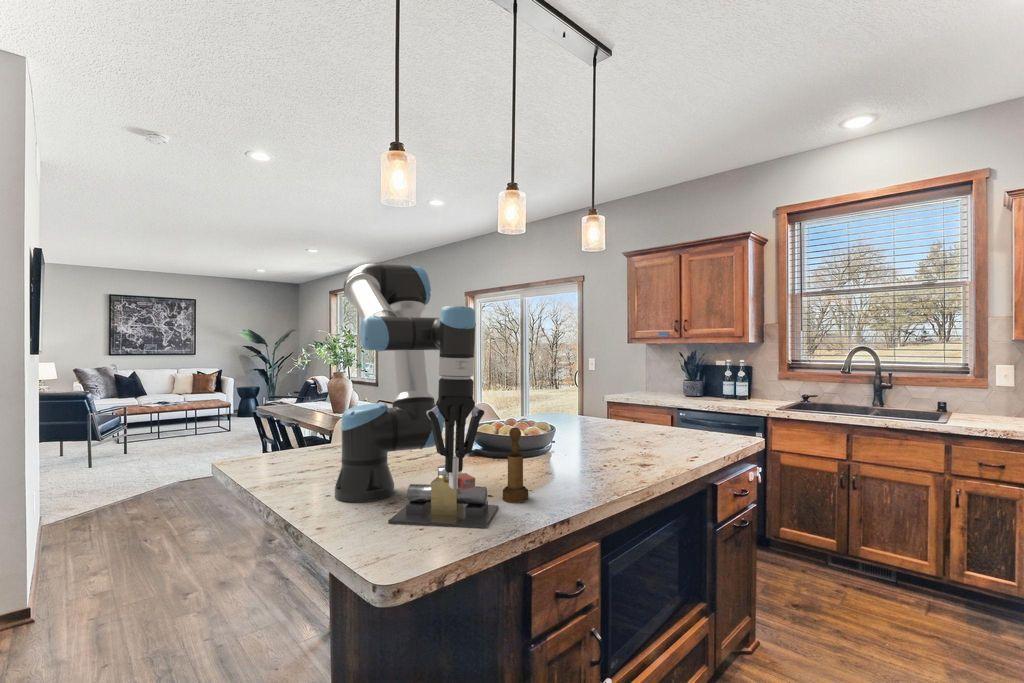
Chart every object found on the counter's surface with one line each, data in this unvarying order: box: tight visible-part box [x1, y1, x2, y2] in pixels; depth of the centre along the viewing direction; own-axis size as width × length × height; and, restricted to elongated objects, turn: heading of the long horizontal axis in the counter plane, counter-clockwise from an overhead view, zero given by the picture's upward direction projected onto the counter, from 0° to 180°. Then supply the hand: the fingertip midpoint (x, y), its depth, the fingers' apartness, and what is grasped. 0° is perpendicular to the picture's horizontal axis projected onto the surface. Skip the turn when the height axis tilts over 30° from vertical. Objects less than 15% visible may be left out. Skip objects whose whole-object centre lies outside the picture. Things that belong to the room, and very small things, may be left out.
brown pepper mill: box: [502, 427, 529, 504], centre depth 129 cm, size 7×6×18 cm
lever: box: [437, 465, 476, 489], centre depth 115 cm, size 14×4×2 cm, turn 29°
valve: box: [387, 476, 499, 529], centre depth 117 cm, size 22×14×8 cm, turn 81°
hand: (453, 487), depth 110 cm, fingers closed
